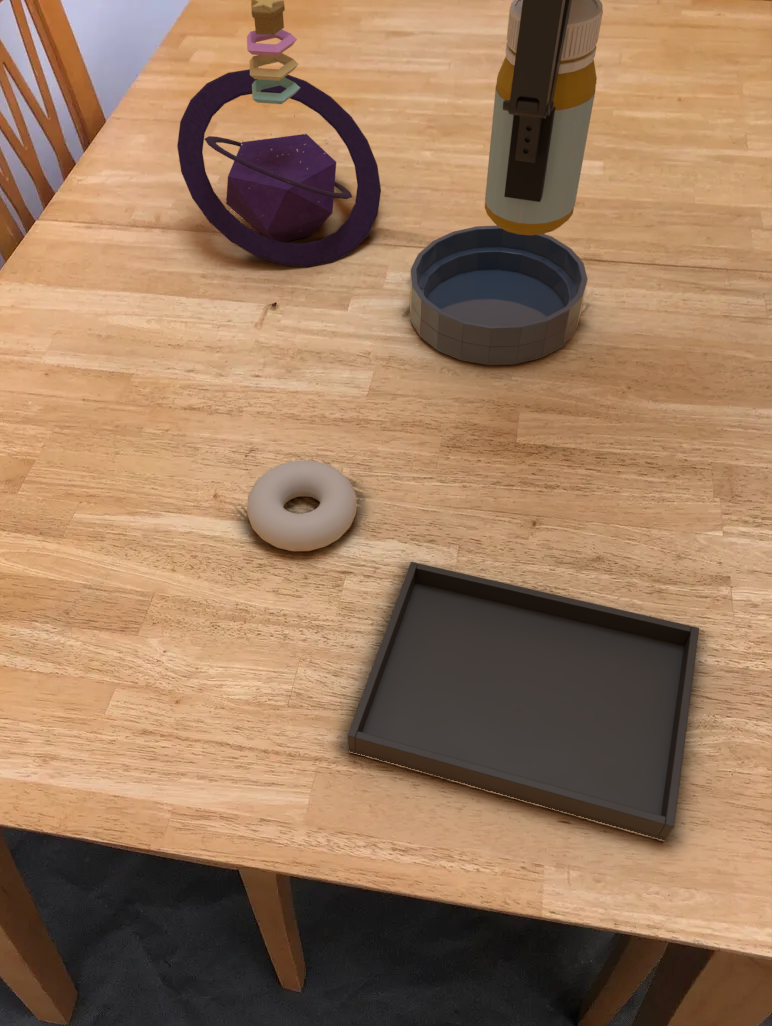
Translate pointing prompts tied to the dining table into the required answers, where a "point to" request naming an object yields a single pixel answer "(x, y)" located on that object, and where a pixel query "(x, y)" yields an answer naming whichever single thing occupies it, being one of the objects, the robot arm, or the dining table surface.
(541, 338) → the bowl
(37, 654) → the dining table surface
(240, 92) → the ringed planet model
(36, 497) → the dining table surface
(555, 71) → the robot arm
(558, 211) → the bottle
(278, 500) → the donut
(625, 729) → the tray
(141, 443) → the dining table surface
